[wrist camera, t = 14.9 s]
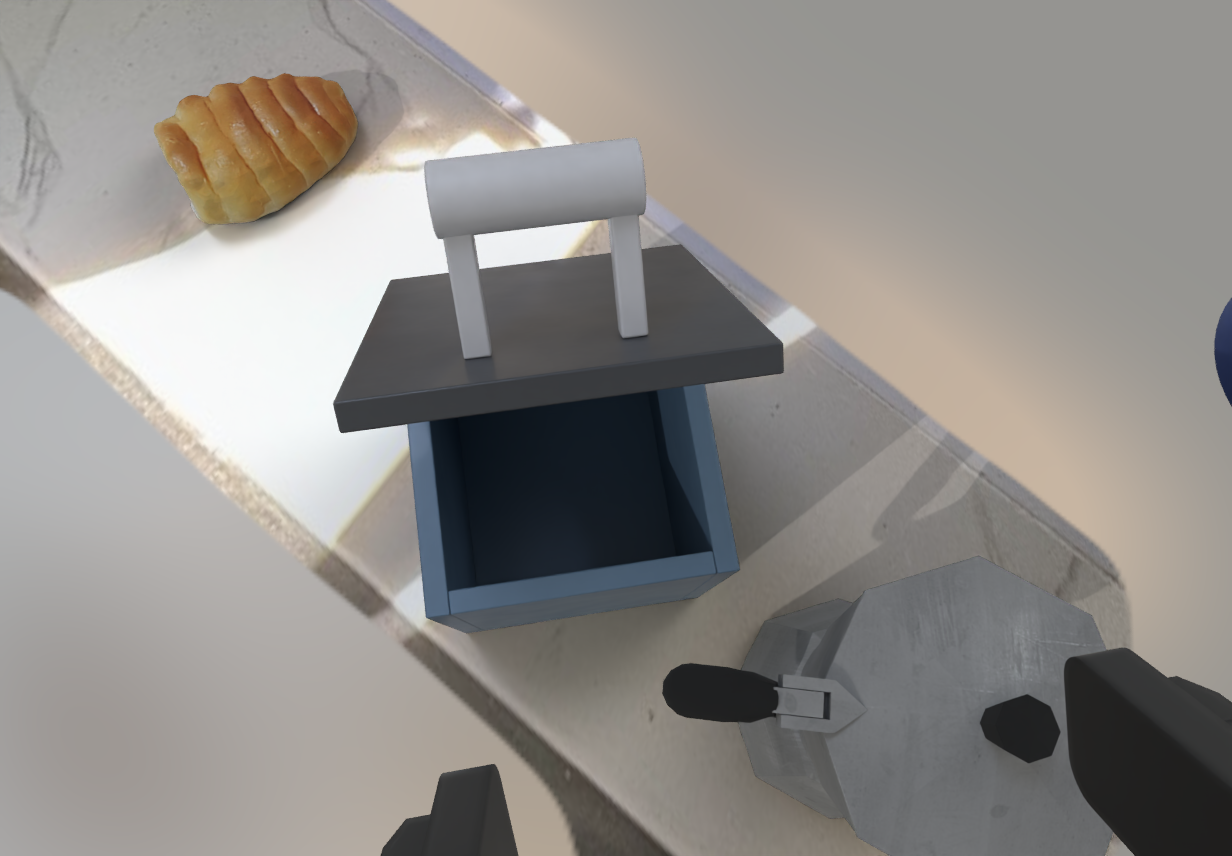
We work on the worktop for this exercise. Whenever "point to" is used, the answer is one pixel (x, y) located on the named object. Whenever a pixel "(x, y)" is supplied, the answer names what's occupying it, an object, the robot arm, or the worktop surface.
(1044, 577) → the worktop surface
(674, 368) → the grey box lid
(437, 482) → the blue-grey box
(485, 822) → the robot arm
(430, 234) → the worktop surface
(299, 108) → the pastry
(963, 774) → the coffeepot
